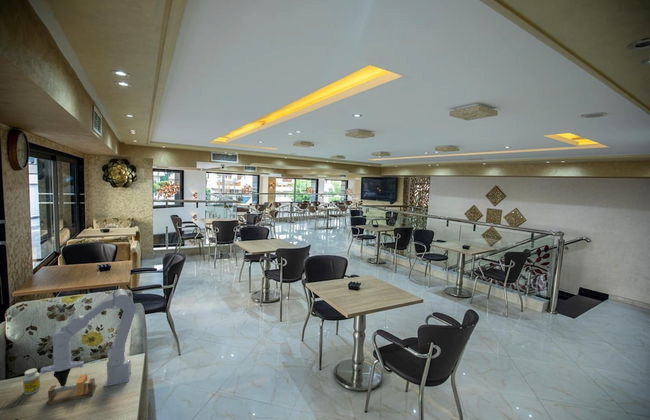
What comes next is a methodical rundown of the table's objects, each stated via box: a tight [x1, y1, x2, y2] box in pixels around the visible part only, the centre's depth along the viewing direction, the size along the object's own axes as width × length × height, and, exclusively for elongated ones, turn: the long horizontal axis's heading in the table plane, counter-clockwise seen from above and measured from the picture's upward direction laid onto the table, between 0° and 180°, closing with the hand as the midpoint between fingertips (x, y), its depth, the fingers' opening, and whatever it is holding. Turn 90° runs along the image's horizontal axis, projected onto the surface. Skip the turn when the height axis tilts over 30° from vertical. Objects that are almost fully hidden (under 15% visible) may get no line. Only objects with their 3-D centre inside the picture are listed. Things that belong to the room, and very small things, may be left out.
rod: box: [54, 379, 94, 393], centre depth 135 cm, size 16×2×2 cm, turn 114°
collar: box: [75, 373, 88, 396], centre depth 137 cm, size 2×6×6 cm, turn 24°
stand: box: [45, 377, 97, 406], centre depth 135 cm, size 16×7×5 cm, turn 114°
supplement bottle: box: [22, 367, 41, 395], centre depth 137 cm, size 5×5×10 cm
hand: (63, 384), depth 134 cm, fingers closed
